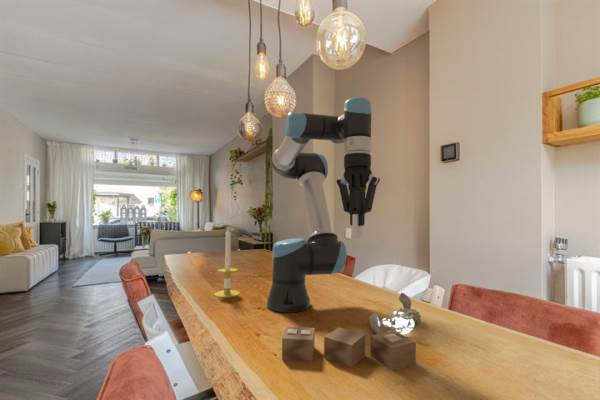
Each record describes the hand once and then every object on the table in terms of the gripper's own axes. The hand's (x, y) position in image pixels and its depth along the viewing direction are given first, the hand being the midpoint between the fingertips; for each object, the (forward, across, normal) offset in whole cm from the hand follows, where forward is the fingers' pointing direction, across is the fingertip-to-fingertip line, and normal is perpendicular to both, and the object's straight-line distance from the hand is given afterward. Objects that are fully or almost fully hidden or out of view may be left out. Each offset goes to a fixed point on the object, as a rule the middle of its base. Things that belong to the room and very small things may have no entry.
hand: (357, 237), depth 85 cm
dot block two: (+27, -4, -20) cm, 34 cm away
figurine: (+27, +7, +7) cm, 29 cm away
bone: (+27, +8, +17) cm, 33 cm away
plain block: (+27, +5, -14) cm, 30 cm away
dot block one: (+27, +14, -8) cm, 31 cm away
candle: (+27, -58, -2) cm, 64 cm away
